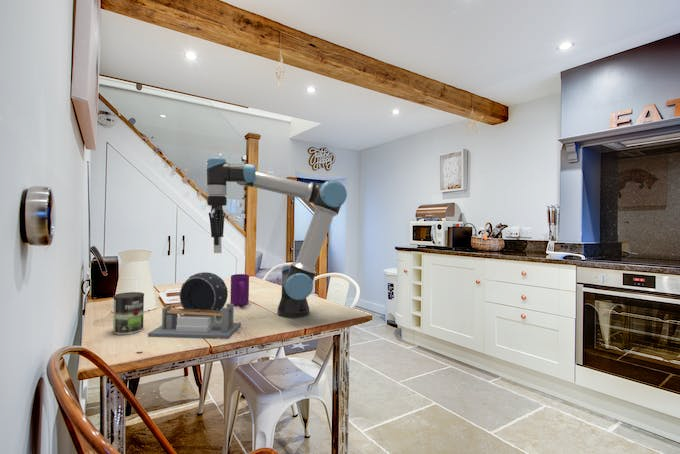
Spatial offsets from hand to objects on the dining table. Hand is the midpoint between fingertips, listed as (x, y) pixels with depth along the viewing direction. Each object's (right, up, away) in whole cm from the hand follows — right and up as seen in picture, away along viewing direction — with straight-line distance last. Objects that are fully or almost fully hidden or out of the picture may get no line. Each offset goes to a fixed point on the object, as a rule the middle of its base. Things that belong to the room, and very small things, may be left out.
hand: (217, 252), depth 145 cm
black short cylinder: (-11, -30, +12) cm, 34 cm away
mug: (0, -30, +34) cm, 45 cm away
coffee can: (-32, -30, -9) cm, 44 cm away
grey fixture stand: (-6, -30, -7) cm, 32 cm away
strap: (-5, -24, -7) cm, 25 cm away
